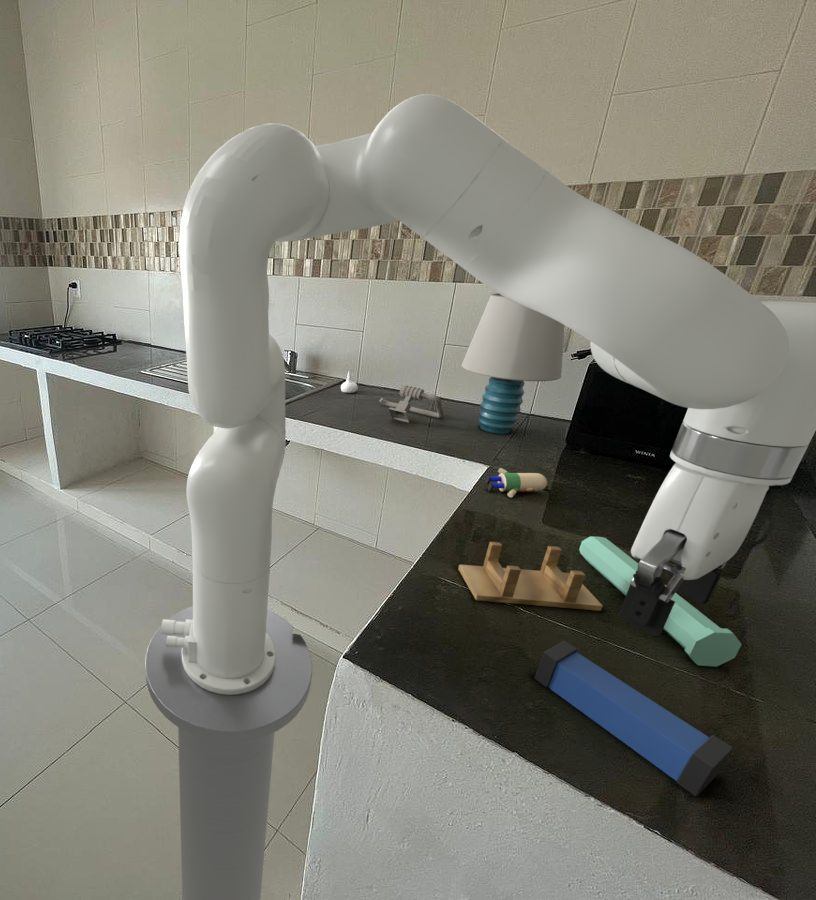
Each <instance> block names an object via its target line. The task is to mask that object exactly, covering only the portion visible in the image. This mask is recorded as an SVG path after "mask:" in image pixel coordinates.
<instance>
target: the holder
mask: <svg viewBox="0 0 816 900" xmlns="http://www.w3.org/2000/svg"><path fill="white" fill-rule="evenodd" d="M502 548H503V545H502V543H501V542H498V541H489V543H488V547H487V550H486V554H485V558H484V561H483V564H482V565H472V564H471V565H470V564H459V565H458V567H457V569H458V572H459V573H460V575H461V576H462V578H463V580H464V582H465V583H466V586H467V587H468V589H469V591H470V592H471V594H472V596H473V598H474V600H475V601H479V602H480V601H481V602H491V603H493V602H494V603H503V604H504V603H505V604H515V605H526V606H527V605H528V606H540V607H550V608H562V609H563V608H564V609H572V610H573V609H574V610H575V609H576V610H587V611H597V612H598V611H599V612H600V611H602V610H603V604H602V603H601V602H600V601H599V599H597V598H596V597H595V596H594V594H593V593H592V592H591V591H590V590H589V589H588V588H587V587H586V585H584V581H585V578H586V574H585V572H583V571H581V570H570V572H562V570H561V569H560V568H559V567H558V566H557V565H558V562H559V559H560V556H561V554H562V551H563V550H562V549H561V548H560V547H559V546H555V545H554V546H553V545H547V549H546V551H545V554H544V557H543V560H542V564H541V567H540V570H533V569H521V568H520V567H519V566H518V565H506V567H503V566H502V565H501V564H500V562H499V559H500V555H501V552H502Z"/></svg>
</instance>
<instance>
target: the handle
mask: <svg viewBox="0 0 816 900" xmlns="http://www.w3.org/2000/svg"><path fill="white" fill-rule="evenodd" d="M577 651H578V648H577V647H575V645H573V644H571V643H570V642H567V641H566V640H563V641H561V642H559V643H557V644H556V645H553V646H552V647H550V648H549V649H547V650H545V651H544V652H543V653H542V656H541V659H540V662H539V665H538V667H537V669H536V673H535V676H534V680H536V681H537V682H538V683H540V684H541V685H542V686H544V687H545V688H548V689H549V690H551V691H552V692H553V693H554V694H556V695H558V696H559V697H561V698H562V699H563V700H564V701H566V702H567V703H569V704H570V705H572V707H574V708H576V710H578V711H580V712H581V713H582V714H584V715H585V716H586V717H588V718H589V719H591V720H592V721H594V722H595V723H596V724H597V725H599V726H600V727H602V728H603V729H605V730H606V731H607V732H609V733H610V734H611V735H613V736H614V737H615V738H617V739H618V740H619V741H621V742H622V743H623V744H625V745H626V746H627V747H629V748H630V749H632V750H633V751H634V752H636V753H637V754H638V755H640V756H641V757H643V758H644V759H645V760H647V761H648V762H650V763H651V764H653V765H654V766H655V767H656V768H658V769H659V770H660V771H661V772H663V773H665V775H667V776H668V777H670V778H672V779H673V780H674V781H675V782H676V784H678V785H679V786H680V787H682V788H683V789H685V790H686V791H687V792H689V793H690V794H691V795H692V796H694V797H698V796H699V795H700V794H701V793H702V792H703V791H704V790H705V789H706V788H707V786H709V784H710V783H711V782H713V781H714V779H716V778H717V776H718V774H719V773H720V771H721V769H722V768H723V766H724V764H725V762H726V761H727V760H728V758H729V756H730V755H731V753H732V751H733V750H734V747H733V746H732V745H730V744H729V743H727V742H725V741H724V740H722V739H720V738H719V737H717V736H716V735H714V734H712V735H711V736H710V737H709V736H708V735H706V734H705V733H704V732H702V731H700V730H699V729H697V728H695V727H694V726H692V725H691V724H690V723H688V722H686V721H684V720H683V719H682V718H680V717H679V716H677V715H675V714H674V713H672V712H671V711H669V710H667V709H666V708H665V707H663V706H661V705H659V704H658V703H657V702H655V701H653V700H652V699H650V698H649V697H647V696H645V695H644V694H642V693H641V692H639V691H638V690H636V689H634V688H633V687H632V686H630V685H628V684H627V683H625V682H624V681H622V680H621V679H620V678H617V677H616V676H615V675H612V674H611V673H610V672H609V671H607V670H605V669H603V668H602V667H600V666H599V665H598V664H596V663H594V662H592V661H591V660H590V659H588V658H586V656H584V655H582V654H580V653H579V652H577Z"/></svg>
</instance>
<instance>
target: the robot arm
mask: <svg viewBox="0 0 816 900" xmlns="http://www.w3.org/2000/svg"><path fill="white" fill-rule="evenodd" d="M396 222H400V223H401V224H403V225H404V226H406V227H407V228H408V229H409V230H411V231H412V232H413V233H415V234H416V235H417V236H418V237H420V238H422V239H423V240H425V242H427V243H428V244H430V245H431V246H432V247H434V248H436V249H437V250H438V251H439V252H441V253H442V254H443V255H445V256H446V257H447V258H448V259H450V260H452V261H453V262H454V263H455V264H456V265H458V266H459V267H460V268H462V269H463V270H464V271H466V272H467V273H468V274H470V275H471V276H472V277H474V278H475V279H476V280H478V281H479V282H480V283H482V284H483V285H484V286H486V287H487V288H489V289H491V290H492V291H494V292H496V294H498V293H499V294H500V295H502V296H504V297H506V298H507V299H509V300H511V301H513V302H515V303H518V304H520V305H523V306H525V307H527V308H530V309H532V310H535V311H537V312H540V313H542V314H544V315H546V316H548V317H550V318H552V319H554V320H556V321H558V322H560V323H562V324H563V325H565V327H567V328H569V329H570V330H571V331H574V332H575V333H577V334H579V335H580V336H582V337H583V338H585V339H586V340H588V341H589V343H590V344H589V345H590V352H591V356H592V357H593V359H594V361H595V362H596V363H597V365H598V366H599V367H600V368H601V369H602V370H603V371H604V372H606V374H608V375H610V376H612V377H614V378H615V379H618V380H620V381H622V382H623V383H626V384H629V385H631V386H633V387H635V388H637V389H641V390H643V391H645V392H647V393H649V394H651V395H653V396H656V397H657V398H660V399H662V400H664V401H666V402H668V403H671V404H673V405H675V406H678V407H682V408H687V410H686V413H685V415H684V418H683V420H682V423H681V425H680V427H679V430H678V433H677V435H676V438H675V441H674V442H673V445H672V448H671V451H670V454H669V458H670V459H671V460H672V461H673V462H675V463H674V464H673V465H672V467H671V469H669V471H668V473H667V475H666V476H665V478H664V480H663V482H662V484H661V485H660V487H659V488H658V491H657V493H656V494H655V497H654V498H653V500H652V503H651V505H650V507H649V509H648V511H647V513H646V515H645V518H644V520H643V521H642V524H641V526H640V528H639V530H638V533H637V535H636V537H635V539H634V541H633V544H632V546H631V548H630V554H631V556H632V557H633V558H634V559H637V560H638V559H640V560H639V562H637V563H638V569H637V571H636V574H633V579H632V580H631V582H630V587H629V589H628V592H627V594H626V595H625V597H624V599H623V602H622V604H621V607H620V609H619V612H618V617H619V618H620V620H623V621H625V622H626V623H628V624H631V625H632V626H634V627H636V628H638V629H640V630H641V631H642V632H645V633H647V634H648V635H651V636H653V637H658V636H660V635H661V634H662V632H663V631H664V630H663V628H664V626H665V624H666V621H667V619H668V617H669V615H670V613H671V610H672V608H673V606H674V604H675V601H673V600H671V598H672V597H673V595H674V594H675V593H677V594H680V595H682V596H684V597H686V598H688V599H691V600H693V601H695V602H697V603H699V604H703V605H704V604H707V603H709V602H710V600H711V598H712V596H713V594H714V592H715V590H716V588H717V586H718V584H719V582H720V579H721V577H722V576H723V573H724V570H723V568H724V567H726V565H727V563H728V561H729V560H730V559H731V558H733V557H734V556H735V555H736V554H737V553H738V551H739V549H740V547H742V545H743V542H744V541H745V539H746V537H747V536H748V533H749V531H750V529H751V528H752V525H753V523H754V522H755V519H756V517H757V515H758V513H759V510H760V509H761V506H762V504H763V501H764V500H765V497H766V494H767V492H768V491H769V489H770V486H771V487H773V486H774V487H775V486H785V485H788V484H789V483H790V484H791V481H792V479H793V477H794V476H795V473H796V472H797V469H798V467H799V465H800V463H801V461H802V459H803V457H804V455H805V453H806V451H807V450H808V447H809V445H810V443H811V440H812V438H813V437H814V435H815V433H816V302H806V301H784V300H782V301H780V300H779V301H778V300H772V301H771V300H762V301H760V300H759V299H758V298H757V297H755V296H754V295H753V294H751V293H750V292H748V291H747V290H746V289H745V288H743V287H742V286H741V285H739V284H738V283H737V282H735V281H734V280H733V279H732V278H730V277H729V276H727V275H726V274H725V273H723V272H722V271H721V270H720V269H718V268H716V267H715V266H714V265H712V264H711V263H709V262H708V261H707V260H705V259H703V258H702V257H700V256H699V255H697V254H695V253H694V252H692V251H690V250H688V249H687V248H685V247H683V246H681V245H680V244H678V243H676V242H674V241H673V240H670V239H668V238H666V237H664V236H662V235H660V234H659V233H656V232H654V231H652V230H650V229H648V228H646V227H644V226H642V225H640V224H638V223H636V222H634V221H632V220H630V219H629V218H626V217H624V216H623V215H622V214H619V213H618V212H616V211H615V210H612V209H610V208H608V207H606V206H604V205H602V204H600V203H598V202H595V201H593V200H591V199H588V198H587V197H584V196H583V195H582V194H580V193H578V192H577V191H576V190H574V189H572V188H571V187H570V186H568V185H567V184H565V182H564V183H563V182H562V181H561V180H560V179H558V178H557V177H556V176H554V175H553V173H551V172H549V171H548V170H547V169H545V168H543V167H542V166H541V165H540V164H539V163H537V162H535V161H534V160H533V159H532V158H531V157H529V156H528V155H527V154H525V153H523V152H522V150H519V149H518V147H515V146H514V145H513V144H512V143H511V142H509V141H508V140H506V139H505V138H504V137H502V136H501V135H500V134H498V133H497V132H496V131H495V130H493V129H492V128H491V127H489V126H488V125H487V124H485V122H483V121H481V120H480V119H479V118H477V117H476V116H475V115H473V114H472V113H471V112H469V111H468V110H467V109H465V108H464V107H463V106H461V105H459V104H458V103H457V102H456V101H453V100H452V99H449V98H447V97H444V96H441V95H439V94H433V93H422V94H418V95H414V96H411V97H409V98H407V99H404V100H403V101H401V102H399V103H398V104H397V105H395V106H394V107H393V108H392V109H390V110H389V111H388V112H387V113H386V114H385V115H384V117H383V118H381V120H380V121H379V122H378V123H377V125H376V126H375V127H374V129H373V131H372V132H369V133H366V134H362V135H359V136H355V137H350V138H347V139H342V140H339V141H334V142H329V143H324V144H319V145H315V144H314V143H313V141H311V140H310V138H308V137H307V136H306V135H305V134H304V133H303V132H301V131H299V130H298V129H296V128H295V127H292V126H290V125H287V124H283V123H273V122H270V123H269V122H268V123H263V124H259V125H256V126H253V127H248V128H247V129H245V130H243V131H241V132H239V133H237V134H236V135H235V136H233V137H231V138H230V139H228V140H227V141H226V142H225V143H223V145H221V146H220V147H219V148H217V150H216V151H215V152H213V154H211V156H210V157H209V158H208V160H206V162H205V163H204V164H203V166H202V167H201V168H200V170H199V171H198V173H197V174H196V176H195V177H194V180H193V182H192V184H191V185H190V188H189V189H188V192H187V195H186V197H185V200H184V203H183V208H182V212H181V218H180V224H179V236H178V237H179V239H178V241H179V243H178V244H179V246H178V248H179V265H180V279H181V290H182V291H181V292H182V301H183V302H182V303H183V304H182V305H183V308H182V309H183V329H184V330H183V331H184V344H185V353H186V354H185V356H186V374H187V390H188V394H189V398H190V401H191V404H192V406H193V408H194V410H195V412H196V413H197V414H198V416H199V417H200V418H201V419H202V420H203V421H204V422H206V423H207V424H209V425H211V426H212V427H213V433H212V435H210V437H209V438H208V439H207V440H206V442H205V443H204V445H203V446H202V447H201V449H200V450H199V451H198V453H197V454H196V455H195V457H194V460H193V461H192V463H191V466H190V469H189V471H188V475H187V479H186V486H185V487H186V490H185V491H186V503H187V509H188V514H189V520H190V529H191V560H192V561H191V562H192V606H193V620H190V619H186V621H185V622H179V621H176V620H168V619H166V618H163V619H162V621H161V625H160V626H161V634H168V635H175V634H176V635H184V638H181V637H177V636H167V640H166V646H167V647H182V664H183V667H184V670H185V671H186V673H187V675H188V676H189V677H190V678H191V679H192V680H193V682H195V683H196V684H197V685H199V686H200V687H202V688H204V689H206V690H208V691H211V692H214V693H218V694H225V695H235V694H242V693H247V692H249V691H252V690H254V689H256V688H258V687H259V686H261V685H262V684H264V683H265V682H266V681H267V680H268V679H269V677H270V676H271V674H272V672H273V670H274V667H275V661H276V650H275V647H274V643H273V642H272V640H271V638H270V637H269V635H268V634H267V633H266V621H267V609H268V603H269V589H270V577H271V556H272V537H273V536H272V535H273V506H274V498H275V493H276V488H277V484H278V480H279V478H280V472H281V468H282V466H283V463H284V458H285V453H286V438H287V437H286V366H285V365H286V364H285V360H284V358H285V357H284V354H283V351H282V350H281V347H280V345H279V344H278V342H277V341H276V339H275V338H274V337H273V336H272V335H271V334H270V324H269V323H270V322H269V321H270V320H269V310H270V309H269V307H270V291H269V290H270V289H269V278H268V263H269V256H270V252H271V250H272V248H273V246H274V244H275V243H276V242H283V243H285V242H287V243H288V242H296V241H302V240H307V239H312V238H317V237H324V236H329V235H336V234H341V233H347V232H352V231H359V230H363V229H369V228H374V227H380V226H383V225H387V224H391V223H396ZM669 562H672V563H674V564H676V565H675V566H673V565H671V564H668V563H669ZM662 573H665V574H667V575H669V576H671V577H670V578H669V581H668V583H667V584H666V583H665V580H664V579H663V578H661V576H662ZM665 585H666V587H665Z"/></svg>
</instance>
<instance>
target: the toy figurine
mask: <svg viewBox="0 0 816 900" xmlns="http://www.w3.org/2000/svg"><path fill="white" fill-rule="evenodd" d="M497 473H499V474H498V475H494V476H493V475H488V476H486V478H485V480H484V483H485V485H488V486H487V491H488V492H492V491H493V489H499V491H500V492H507V494H506V495H507V497H508V498H513V497H514V496H515V495H516V494H517V493H535V492H542V491H544V489H546V488H547V485H548V480H547V478H546V477H545V475H543V474H541V473H538V472H509V471H508V470H506V469H504V468H502V467H499V468H498V470H497Z"/></svg>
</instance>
